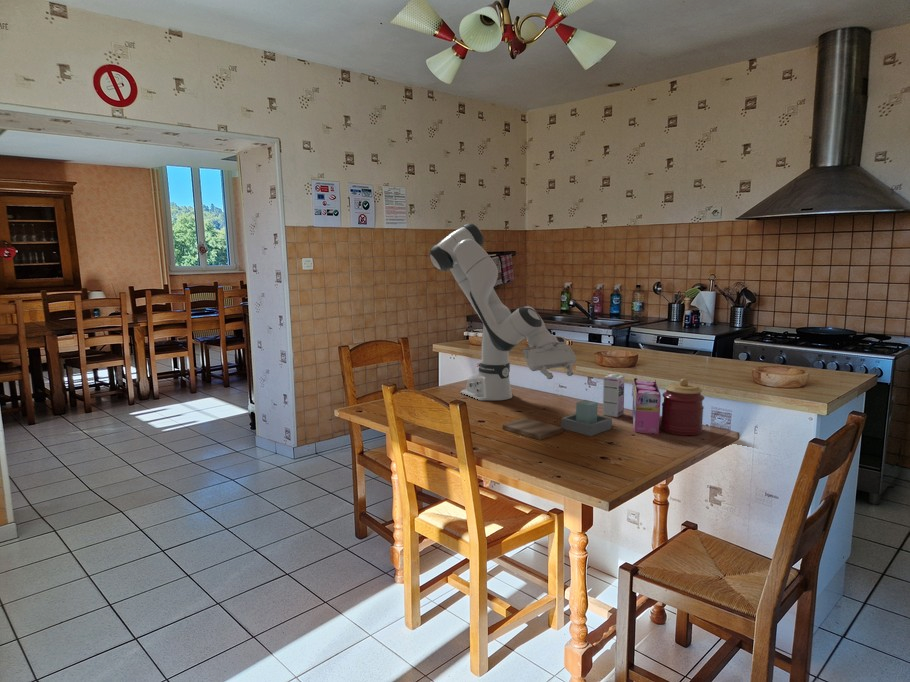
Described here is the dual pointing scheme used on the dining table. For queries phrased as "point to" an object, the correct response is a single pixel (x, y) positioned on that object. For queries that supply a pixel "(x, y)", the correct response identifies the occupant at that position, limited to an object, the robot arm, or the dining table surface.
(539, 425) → the walnut board
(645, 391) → the gum box
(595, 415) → the teal block
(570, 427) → the parts bin
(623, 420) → the dining table surface
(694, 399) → the canister
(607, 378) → the syrup box
